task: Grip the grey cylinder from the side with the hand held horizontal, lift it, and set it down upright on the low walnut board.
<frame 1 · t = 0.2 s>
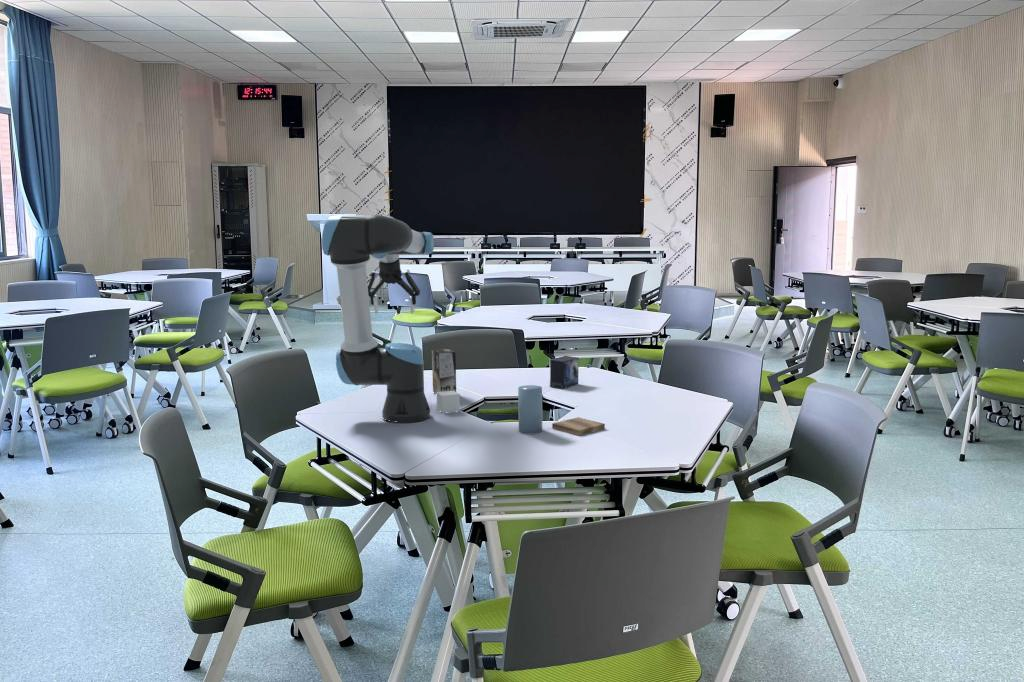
hand: (394, 312, 303), 28 cm above the table, tool tilted 20°, fingers open, 13 cm apart
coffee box: (444, 395, 289), on the table
adhesive note: (448, 411, 266), on the table
grey cylinder: (530, 430, 240), on the table
small box: (564, 386, 303), on the table
board: (578, 428, 242), on the table
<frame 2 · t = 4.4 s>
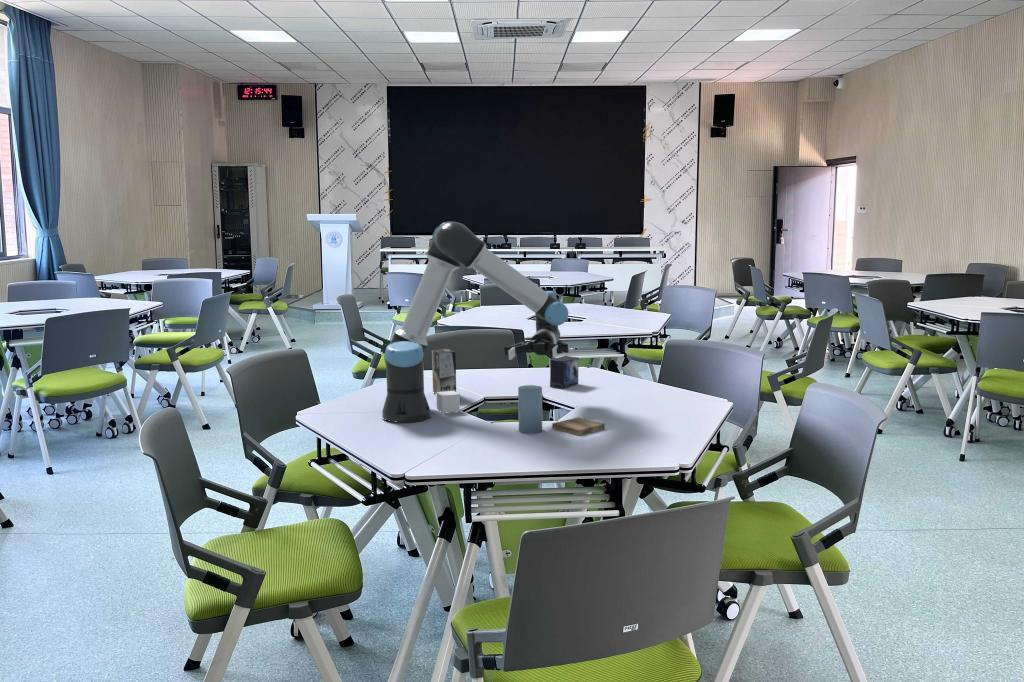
hand: (531, 354, 246), 21 cm above the table, tool horizontal, fingers open, 13 cm apart
nothing on the table moved.
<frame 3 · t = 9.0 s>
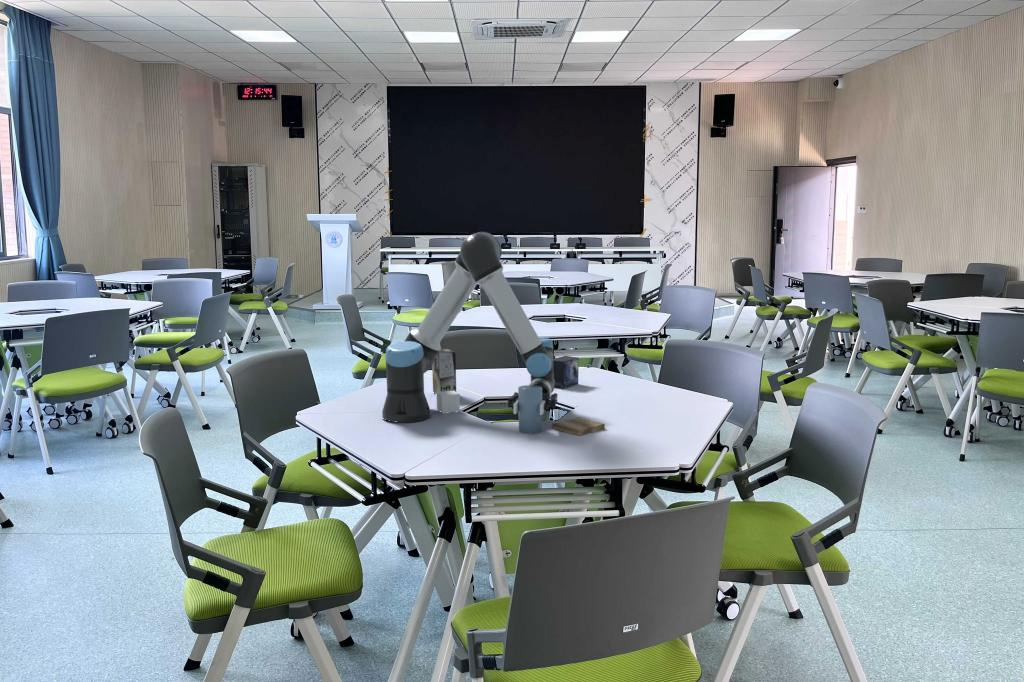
hand: (527, 409, 234), 8 cm above the table, tool horizontal, fingers closed on grey cylinder, 7 cm apart
grey cylinder: (530, 430, 240), on the table, touching gripper
everything else where it was.
when the fingers open (10 cm above the table, at t = 13.9 s): grey cylinder stays where it is, resting on board.
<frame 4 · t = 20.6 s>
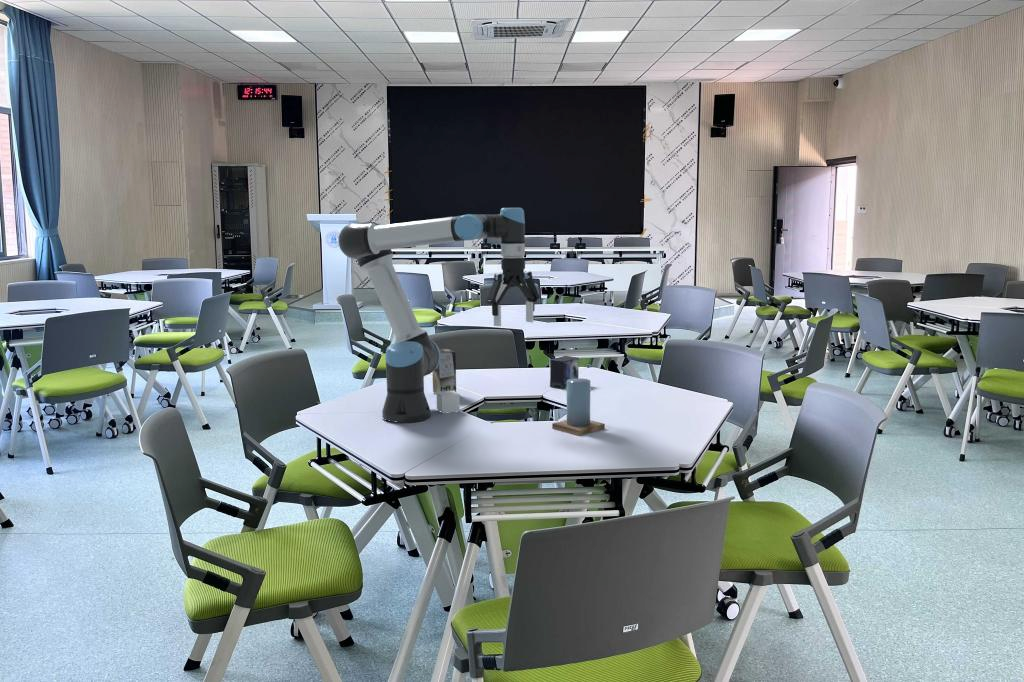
hand: (513, 324, 259), 29 cm above the table, tool pointing down, fingers open, 13 cm apart
grey cylinder: (578, 423, 242), point 1 cm above the table, touching board
everything else where it was.
at the end: grey cylinder inside the target area on the board (0.0 cm from its centre), point 1.5 cm above the board's base; grey cylinder touching board; grey cylinder tilted 0° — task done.
